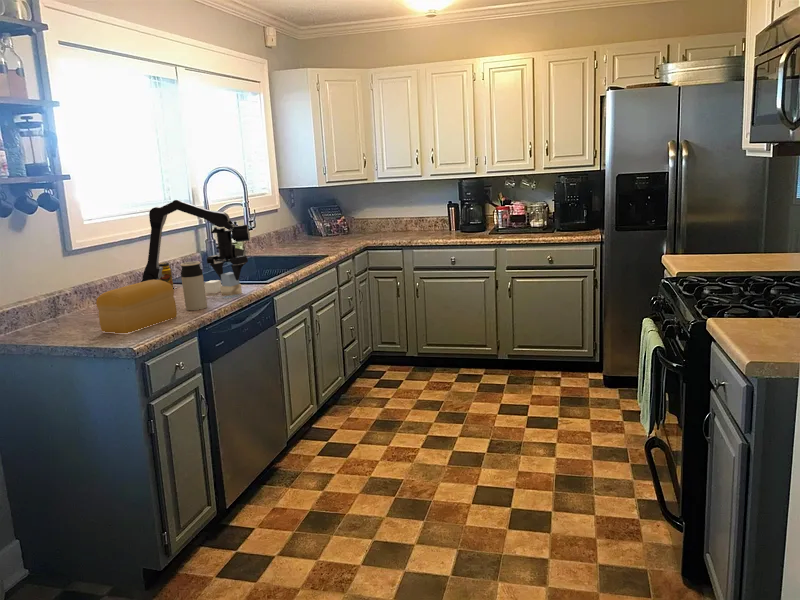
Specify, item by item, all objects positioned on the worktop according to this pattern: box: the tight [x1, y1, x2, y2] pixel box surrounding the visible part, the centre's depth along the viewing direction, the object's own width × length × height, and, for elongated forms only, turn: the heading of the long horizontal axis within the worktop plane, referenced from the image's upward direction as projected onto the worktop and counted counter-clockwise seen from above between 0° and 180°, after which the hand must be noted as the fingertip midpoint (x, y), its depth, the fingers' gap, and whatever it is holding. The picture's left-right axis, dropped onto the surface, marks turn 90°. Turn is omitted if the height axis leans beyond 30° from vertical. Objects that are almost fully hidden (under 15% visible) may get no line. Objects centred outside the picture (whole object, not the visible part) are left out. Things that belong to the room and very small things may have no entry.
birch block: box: [220, 283, 243, 297], centre depth 282 cm, size 6×6×4 cm
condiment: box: [159, 262, 178, 290], centre depth 305 cm, size 7×8×12 cm
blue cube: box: [220, 271, 240, 287], centre depth 281 cm, size 5×5×5 cm
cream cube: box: [204, 279, 222, 294], centre depth 289 cm, size 5×5×5 cm
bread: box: [95, 280, 178, 333], centre depth 238 cm, size 24×13×15 cm, turn 155°
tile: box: [222, 294, 241, 299], centre depth 277 cm, size 6×4×1 cm, turn 147°
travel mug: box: [180, 261, 208, 311], centre depth 257 cm, size 8×8×18 cm
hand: (229, 279), depth 281 cm, fingers open, 9 cm apart
